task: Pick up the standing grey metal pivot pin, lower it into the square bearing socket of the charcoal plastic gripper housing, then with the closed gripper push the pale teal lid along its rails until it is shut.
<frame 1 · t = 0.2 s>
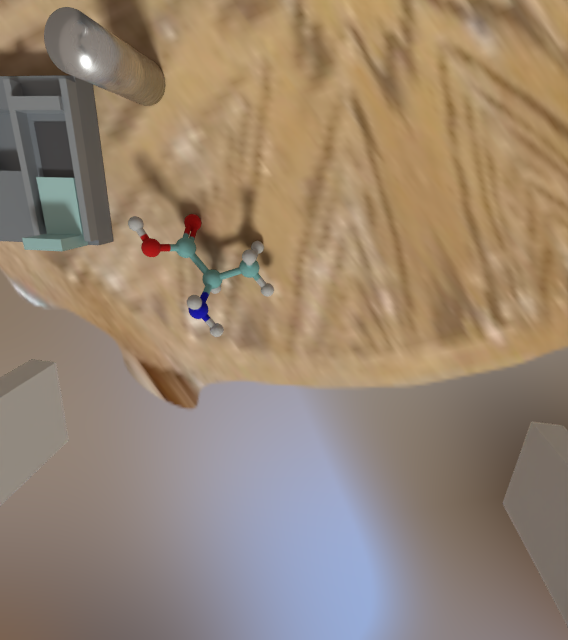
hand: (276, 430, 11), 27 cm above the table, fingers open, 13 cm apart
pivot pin: (145, 82, 33), on the table
housing: (46, 166, 37), on the table
molecular model: (219, 265, 38), on the table
lid: (51, 213, 33), point 4 cm above the table, slide at 5.0 cm
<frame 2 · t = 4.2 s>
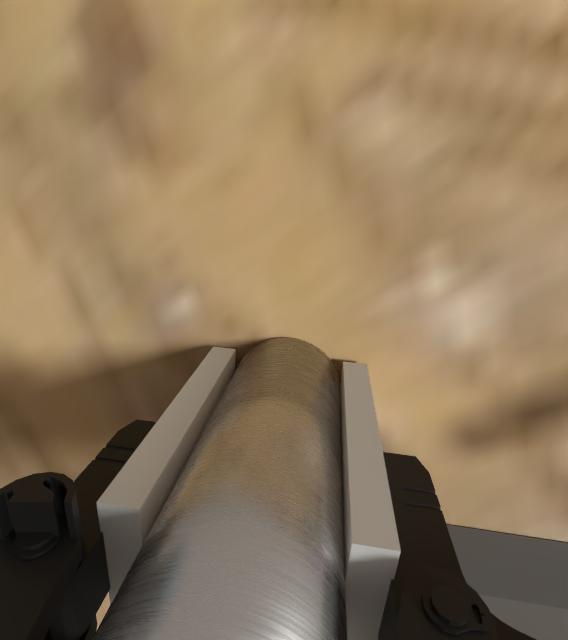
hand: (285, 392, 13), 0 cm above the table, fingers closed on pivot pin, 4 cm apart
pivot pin: (286, 386, 13), on the table, touching gripper
housing: (430, 631, 16), on the table
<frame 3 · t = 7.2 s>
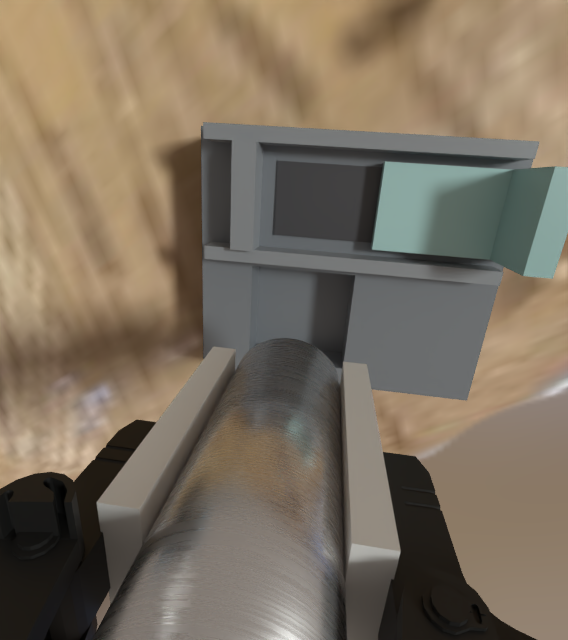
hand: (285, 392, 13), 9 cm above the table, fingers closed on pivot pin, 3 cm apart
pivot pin: (286, 386, 13), point 9 cm above the table, touching gripper
housing: (343, 263, 20), on the table
lid: (460, 215, 15), point 5 cm above the table, slide at 5.0 cm
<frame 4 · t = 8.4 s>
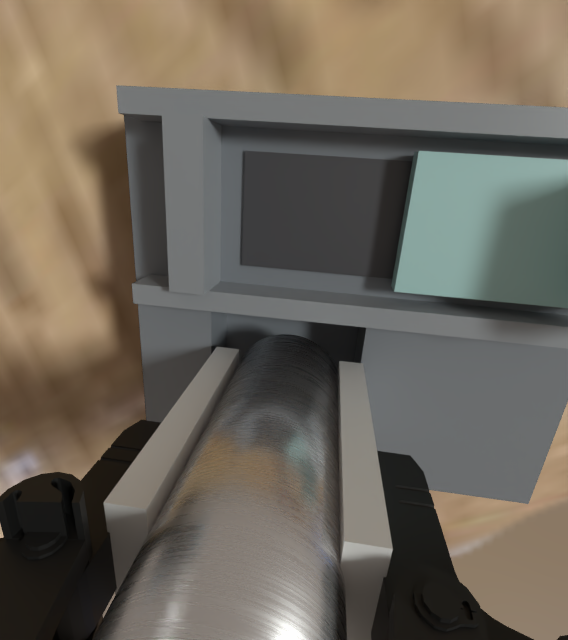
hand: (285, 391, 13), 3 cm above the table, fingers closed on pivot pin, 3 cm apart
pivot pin: (287, 382, 13), point 2 cm above the table, touching gripper
housing: (347, 301, 14), on the table
lid: (551, 241, 8), point 5 cm above the table, slide at 5.0 cm
when the fingers open (3 cm above the table, at t = 10.1 s): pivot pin stays where it is, resting on housing.
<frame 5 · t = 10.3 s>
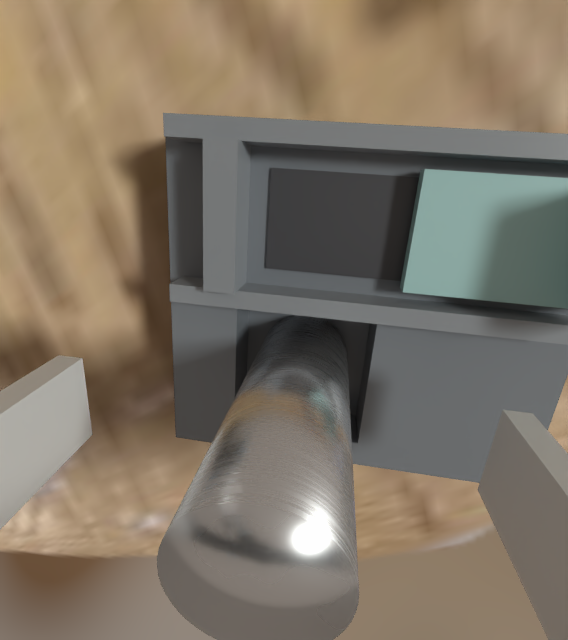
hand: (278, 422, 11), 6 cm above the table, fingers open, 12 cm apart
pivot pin: (304, 354, 16), point 1 cm above the table, touching housing
housing: (359, 302, 15), on the table
lid: (540, 248, 10), point 5 cm above the table, slide at 5.0 cm
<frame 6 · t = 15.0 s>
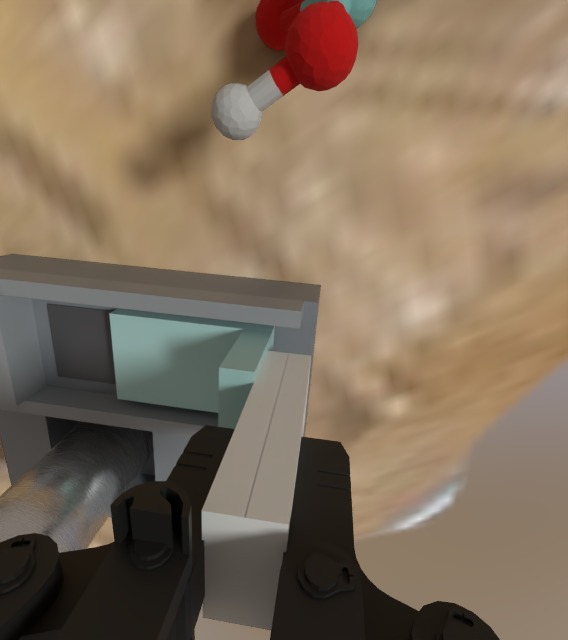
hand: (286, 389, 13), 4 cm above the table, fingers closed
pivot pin: (124, 430, 19), point 1 cm above the table, touching housing
housing: (165, 389, 18), on the table
lid: (176, 383, 13), point 4 cm above the table, slide at 3.5 cm, touching gripper
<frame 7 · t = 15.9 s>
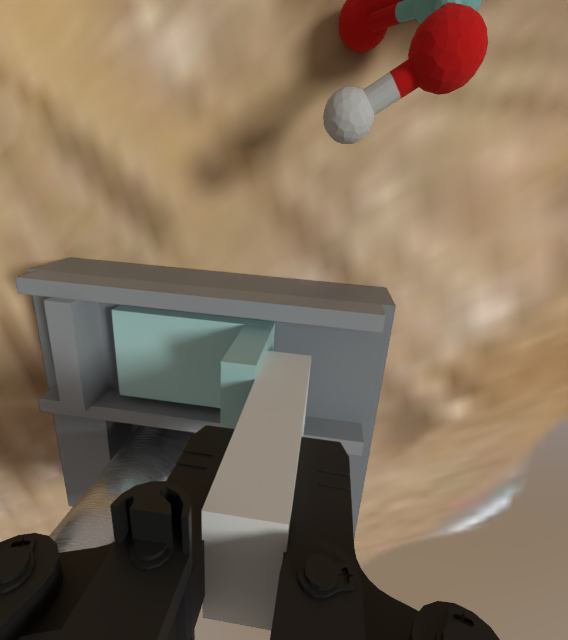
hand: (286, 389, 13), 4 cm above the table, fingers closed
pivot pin: (178, 434, 19), point 1 cm above the table, touching housing
housing: (220, 392, 18), on the table
lid: (178, 378, 13), point 5 cm above the table, slide at 0.8 cm, touching gripper
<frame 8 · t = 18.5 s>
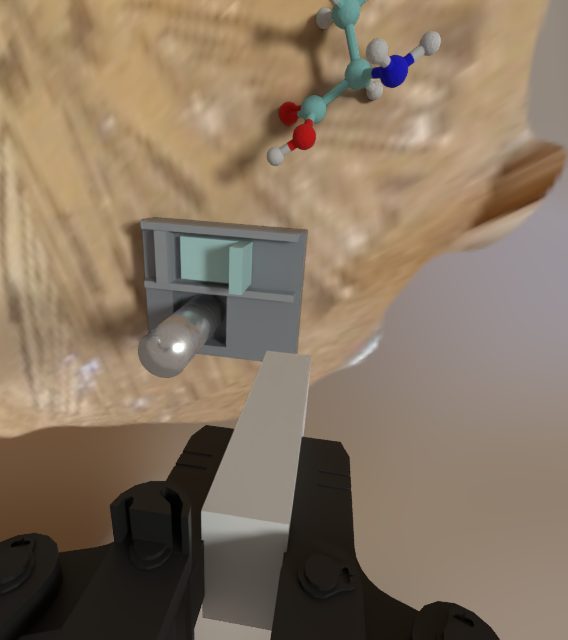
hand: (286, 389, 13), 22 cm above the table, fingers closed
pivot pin: (206, 311, 36), point 1 cm above the table, touching housing
housing: (228, 288, 35), on the table
molecular model: (346, 86, 29), on the table
lid: (210, 263, 30), point 5 cm above the table, slide at 0.7 cm
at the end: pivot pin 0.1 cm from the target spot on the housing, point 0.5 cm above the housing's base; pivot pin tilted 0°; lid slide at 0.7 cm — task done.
